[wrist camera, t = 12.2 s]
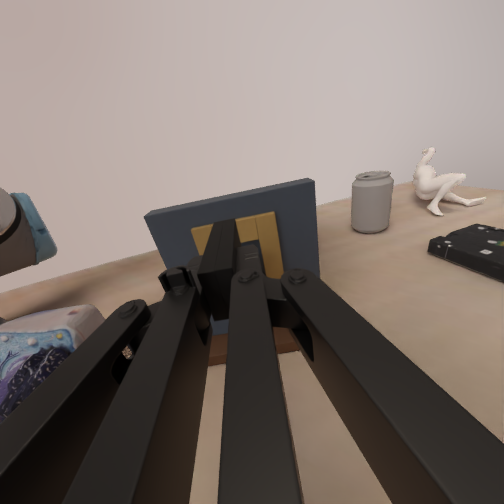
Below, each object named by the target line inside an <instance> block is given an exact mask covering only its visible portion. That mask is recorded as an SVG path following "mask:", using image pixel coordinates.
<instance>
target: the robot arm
mask: <svg viewBox="0 0 504 504" xmlns="http://www.w3.org/2000/svg"><path fill="white" fill-rule="evenodd" d="M56 253H57V247H56V245H55V243H54V241H53V239H52V237H51V235H50V234H49V231H48V229H47V228H46V226H45V224H44V222H43V220H42V219H41V217H40V215H39V213H38V211H37V209H36V208H35V206H34V204H33V202H32V201H31V199H30V197H29V196H28V195H27V194H25V193H11V194H8V193H7V192H6V191H5V190H3V189H2V188H0V276H3V275H6V274H8V273H11V272H14V271H17V270H20V269H22V268H26V267H28V266H31V265H37V264H39V262H42V261H44V260H47V259H49V258H51V257H53V256H54V255H56ZM158 278H159V280H160V282H161V284H162V286H163V288H164V291H165V295H164V297H163V299H162V301H160V302H157V303H155V304H152V305H150V306H147V304H146V302H145V301H144V300H141V299H137V300H132V301H130V302H126V303H125V304H124V305H122V306H120V307H119V308H118V309H116V310H115V311H114V312H113V313H112V314H111V315H110V316H109V317H108V318H107V319H106V320H105V321H104V322H103V323H102V324H101V325H100V326H99V327H98V328H97V329H96V330H95V331H94V332H93V333H92V334H91V335H90V336H89V337H88V338H87V339H86V340H85V341H84V342H83V343H82V344H81V345H80V346H79V347H78V348H77V349H76V350H75V351H74V352H72V353H71V354H70V355H69V356H68V357H67V358H66V359H65V360H64V361H63V362H62V363H61V364H60V365H59V366H58V367H57V368H56V369H55V370H54V371H53V372H52V373H51V374H50V375H49V376H48V377H47V378H46V379H45V380H44V381H43V382H42V383H41V384H40V385H39V386H38V387H37V388H36V389H35V390H34V391H33V392H32V393H31V394H30V395H29V396H28V397H27V398H26V399H25V400H24V401H23V402H22V403H21V404H20V405H19V406H18V407H17V408H16V409H15V410H14V411H13V412H12V413H11V414H10V415H9V416H8V417H6V418H5V419H4V420H3V421H2V422H1V423H0V504H189V500H190V492H191V485H192V478H193V471H194V463H195V456H196V449H197V442H198V434H199V427H200V420H201V413H202V405H203V398H204V391H205V384H206V376H207V369H208V362H209V355H210V347H211V340H212V333H213V328H212V325H211V322H210V318H211V314H212V317H213V319H214V322H215V321H221V320H226V319H229V325H228V341H227V357H226V373H225V389H224V405H223V421H222V437H221V454H220V470H219V486H218V502H217V504H305V503H304V498H303V492H302V487H301V481H300V476H299V470H298V465H297V459H296V454H295V448H294V443H293V437H292V432H291V426H290V421H289V415H288V410H287V404H286V398H285V393H284V387H283V382H282V376H281V371H280V365H279V360H278V354H277V349H276V343H275V338H274V331H273V327H279V328H288V330H289V333H290V334H291V336H292V338H293V339H294V341H295V343H296V344H297V346H298V347H299V349H300V351H301V352H302V354H303V356H304V357H305V359H306V361H307V362H308V364H309V366H310V367H311V369H312V371H313V372H314V374H315V376H316V377H317V379H318V381H319V382H320V384H321V386H322V387H323V389H324V391H325V392H326V394H327V396H328V397H329V399H330V401H331V402H332V404H333V406H334V407H335V409H336V411H337V412H338V414H339V416H340V417H341V419H342V421H343V422H344V424H345V426H346V427H347V429H348V431H349V432H350V434H351V436H352V437H353V439H354V441H355V442H356V444H357V446H358V447H359V449H360V451H361V452H362V454H363V456H364V457H365V459H366V461H367V462H368V464H369V466H370V467H371V469H372V471H373V472H374V474H375V475H376V477H377V479H378V480H379V482H380V484H381V485H382V487H383V489H384V490H385V492H386V494H387V495H388V497H389V499H390V500H391V502H392V504H504V443H502V442H501V441H500V440H499V439H498V438H497V437H496V436H495V435H493V434H492V433H491V432H490V431H489V430H488V429H487V428H486V427H485V426H483V425H482V424H481V423H480V422H479V421H478V420H477V419H476V418H475V417H473V416H472V415H471V414H470V413H469V412H468V411H467V410H466V409H464V408H463V407H462V406H461V405H460V404H459V403H458V402H457V401H456V400H454V399H453V398H452V397H451V396H450V395H449V394H448V393H447V392H445V391H444V390H443V389H442V388H441V387H440V386H439V385H438V384H437V383H435V382H434V381H433V380H432V379H431V378H430V377H429V376H428V375H427V374H425V373H424V372H423V371H422V370H421V369H420V368H419V367H418V366H416V365H415V364H414V363H413V362H412V361H411V360H410V359H409V358H408V357H406V356H405V355H404V354H403V353H402V352H401V351H400V350H399V349H398V348H396V347H395V346H394V345H393V344H392V343H391V342H390V341H389V340H387V339H386V338H385V337H384V336H383V335H382V334H381V333H380V332H379V331H377V330H376V329H375V328H374V327H373V326H372V325H371V324H370V323H369V322H367V321H366V320H365V319H364V318H363V317H362V316H361V315H360V314H358V313H357V312H356V311H355V310H354V309H353V308H352V307H351V306H350V305H348V304H347V303H346V302H345V301H344V300H343V299H342V298H341V297H340V296H338V295H337V294H336V293H335V292H334V291H333V290H332V289H331V288H329V287H328V286H327V285H326V284H325V283H324V282H323V281H322V280H321V279H319V278H318V277H317V276H316V275H315V274H314V273H313V272H311V271H309V270H307V269H303V268H295V269H291V270H288V271H286V272H284V273H283V274H282V275H281V278H280V279H275V278H269V277H267V276H265V275H264V274H263V273H262V268H261V263H260V258H259V252H258V248H257V247H256V246H255V245H248V246H241V242H240V238H239V234H238V229H237V225H236V221H235V218H233V219H228V220H223V221H218V222H214V223H213V226H212V229H211V232H210V235H209V238H208V241H207V244H206V247H205V250H204V253H203V255H200V256H195V257H193V258H192V259H191V260H190V261H189V262H188V264H187V266H185V265H179V266H175V267H172V268H169V269H167V270H165V271H164V272H163V273H161V274H160V275H159V277H158ZM6 322H8V321H7V320H5V319H3V318H1V317H0V325H1V324H4V323H6ZM126 346H128V347H129V349H130V350H131V352H132V355H131V356H130V357H129V358H128V359H126V358H125V356H124V355H123V354H122V351H123V350H124V349H125V347H126Z"/></svg>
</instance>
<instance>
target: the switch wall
mask: <svg viewBox="0 0 504 504" xmlns="http://www.w3.org/2000/svg"><path fill="white" fill-rule="evenodd" d="M233 218H235V221H236V225H237V229H238V234H239V238H240V242H241V246H248V245H255V246H256V247H257V248H258V252H259V258H260V263H261V268H262V273H263V274H264V275H265V276H267V277H269V278H275V279H280V278H281V275H282V274H283V273H284V272H286V271H288V270H291V269H295V268H303V269H307V270H309V271H311V272H313V273H314V274H315V275H316V276H317V277H318V278H319V279H320V271H319V253H318V235H317V216H316V198H315V181H314V180H312V179H309V178H304V179H300V180H295V181H291V182H286V183H281V184H276V185H272V186H266V187H262V188H257V189H252V190H247V191H243V192H238V193H233V194H229V195H224V196H219V197H214V198H209V199H205V200H200V201H195V202H191V203H186V204H182V205H176V206H172V207H167V208H162V209H157V210H152V211H150V212H149V213H148V214H146V215H145V216H144V219H145V221H146V223H147V225H148V227H149V230H150V232H151V235H152V237H153V239H154V241H155V243H156V246H157V248H158V250H159V253H160V255H161V257H162V259H163V261H164V264H165V266H166V268H167V269H169V268H172V267H175V266H179V265H185V266H187V264H188V262H189V261H190V260H191V259H192V258H193V257H195V256H200V255H203V253H204V250H205V247H206V244H207V241H208V238H209V235H210V232H211V229H212V226H213V223H214V222H218V221H223V220H228V219H233ZM210 322H211V325H212V328H213V333H212V340H211V347H210V355H209V362H208V366H212V365H218V364H224V363H226V357H227V341H228V325H229V319H226V320H221V321H215V322H214V319H213V317H212V314H211V318H210ZM273 331H274V338H275V343H276V349H277V354H280V353H285V352H291V351H296V350H300V349H299V347H298V346H297V344H296V343H295V341H294V339H293V338H292V336H291V334H290V333H289V330H288V328H279V327H273Z"/></svg>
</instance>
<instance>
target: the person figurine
mask: <svg viewBox="0 0 504 504" xmlns="http://www.w3.org/2000/svg"><path fill="white" fill-rule="evenodd" d="M435 152H436V151H435V148H433V147H430V148H428V149H424V150H423V152H422V154H424V153H427V154H426V155H425V156H424V157H423V158H422V159H421V161H420V162H419V163H418V165H417V167H416V171H415V173H414V175H413V178H414V179H413V184H414V186H415V190H416V195H417V196H418V197H419V198H421V199H423V200H429V199H432V198H434V199H433V200H432V202H431V203H430V204H429V205H428V206H427V209H428V210H430V211H432V212H433V213H434V214H436V215H440V216H444V215H443V214H442V213H441V211H440V210H439V208H438V202H439V201H440V200H441V199H442V198H443V200H448V201H454V202H458V203H462V204H465V205H466V206H473V205H478V204H481V203H482V202H483V201H484V200H485V199H486V198H487V197H482V198H477V199H463V198H461V197H459V196H457V195H455V194H454V193H451V192H450V191H451V190H452V189H453V188H454V187H455V186H456V185H458V184H460V183H461V182H463V180H464V179H465V178H466V175H465V174H463V173H448V174H443V175H440V176H437V175H436V173H435V169H434V168H433V167H432V166H430V165H427V162H428V161H430V160H431V159H432V157H433V155H434V153H435ZM436 176H437V177H436Z"/></svg>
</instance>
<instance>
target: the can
mask: <svg viewBox="0 0 504 504" xmlns="http://www.w3.org/2000/svg"><path fill="white" fill-rule="evenodd" d="M390 174H391V173H390V172H389V171H372V172H365V173H361V174H359V175H357V176H356V180H355V181H354V182H353V183H352V210H351V226H352V227H353V228H354V229H355V230H357V231H359V232H362V233H376V232H380V231H382V230H383V229H385V228H386V227H388V225H389V219H390V210H391V201H392V192H393V183H394V180H393V179H392V178H391V176H390Z"/></svg>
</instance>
